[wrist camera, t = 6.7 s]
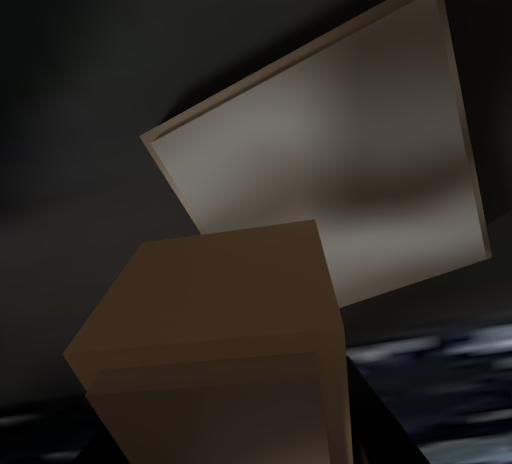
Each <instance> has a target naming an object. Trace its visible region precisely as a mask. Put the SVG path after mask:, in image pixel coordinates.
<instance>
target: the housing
mask: <svg viewBox="0 0 512 464" xmlns="http://www.w3.org/2000/svg"><path fill="white" fill-rule="evenodd" d="M62 355H63V356H64V358H65V359H66V361H67V362H68V364H69V365H70V367H71V368H72V370H73V371H74V373H75V374H76V376H77V377H78V379H79V380H80V382H81V383H82V385H83V386H84V388H85V389H86V391H87V393H86V394H85V397H86V398H87V400H88V401H89V403H90V404H91V406H92V407H93V409H94V410H95V412H96V413H97V415H98V416H99V417H100V419H101V420H102V422H103V423H104V425H105V426H106V428H107V429H108V431H109V432H110V434H111V435H112V437H113V438H114V440H115V441H116V443H117V444H118V446H119V447H120V449H121V450H122V452H123V453H124V455H125V456H126V458H127V459H128V461H129V462H130V464H353V455H352V439H351V424H350V409H349V393H348V378H347V363H346V347H345V332H344V325H343V321H342V318H341V314H340V310H339V306H338V303H337V299H336V295H335V292H334V288H333V284H332V280H331V277H330V273H329V269H328V266H327V262H326V258H325V255H324V251H323V247H322V243H321V240H320V236H319V232H318V229H317V225H316V221H315V219H313V220H306V221H298V222H291V223H284V224H276V225H269V226H262V227H255V228H247V229H240V230H233V231H225V232H218V233H211V234H204V235H196V236H189V237H182V238H174V239H167V240H160V241H153V242H145V243H142V245H141V246H140V247H139V249H138V250H137V252H136V253H135V254H134V256H133V257H132V258H131V260H130V261H129V263H128V264H127V265H126V267H125V268H124V270H123V271H122V272H121V274H120V275H119V276H118V278H117V279H116V281H115V282H114V283H113V285H112V286H111V287H110V289H109V290H108V292H107V293H106V294H105V296H104V297H103V299H102V300H101V301H100V303H99V304H98V305H97V307H96V308H95V310H94V311H93V312H92V314H91V315H90V316H89V318H88V319H87V321H86V322H85V323H84V325H83V326H82V328H81V329H80V330H79V332H78V333H77V334H76V336H75V337H74V339H73V340H72V341H71V343H70V344H69V345H68V347H67V348H66V350H65V351H64V352H63V354H62Z"/></svg>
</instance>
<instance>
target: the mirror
mask: <svg viewBox="0 0 512 464" xmlns="http://www.w3.org/2000/svg"><path fill="white" fill-rule="evenodd" d="M139 137H140V138H141V140H142V141H143V143H144V144H145V146H146V148H147V149H148V151H149V152H150V154H151V155H152V157H153V159H154V160H155V162H156V163H157V165H158V166H159V168H160V170H161V171H162V173H163V174H164V176H165V178H166V179H167V181H168V182H169V184H170V185H171V187H172V189H173V190H174V192H175V193H176V195H177V196H178V198H179V200H180V201H181V203H182V204H183V206H184V207H185V209H186V211H187V212H188V214H189V215H190V217H191V218H192V220H193V222H194V223H195V225H196V226H197V228H198V230H199V231H200V233H201V234H202V235H204V234H211V233H218V232H225V231H233V230H240V229H247V228H255V227H262V226H269V225H276V224H284V223H291V222H298V221H306V220H313V219H315V221H316V225H317V229H318V232H319V236H320V240H321V243H322V247H323V251H324V255H325V258H326V262H327V266H328V269H329V273H330V277H331V280H332V284H333V288H334V292H335V295H336V299H337V303H338V306H339V308H341V307H344V306H347V305H350V304H353V303H356V302H359V301H362V300H365V299H368V298H371V297H374V296H377V295H380V294H383V293H386V292H389V291H392V290H395V289H398V288H401V287H404V286H407V285H410V284H413V283H416V282H419V281H422V280H425V279H428V278H431V277H434V276H437V275H440V274H444V273H447V272H450V271H453V270H456V269H459V268H462V267H465V266H468V265H471V264H474V263H477V262H480V261H483V260H486V259H489V258H492V255H491V249H490V244H489V238H488V233H487V228H486V222H485V217H484V212H483V206H482V201H481V195H480V190H479V185H478V179H477V174H476V169H475V163H474V158H473V152H472V147H471V142H470V136H469V131H468V126H467V120H466V115H465V109H464V104H463V99H462V93H461V88H460V83H459V77H458V72H457V66H456V61H455V56H454V50H453V45H452V40H451V34H450V29H449V23H448V18H447V13H446V7H445V2H444V0H386V1H384V2H382V3H380V4H378V5H376V6H375V7H373V8H371V9H369V10H367V11H366V12H364V13H362V14H360V15H358V16H357V17H355V18H353V19H351V20H349V21H347V22H346V23H344V24H342V25H340V26H338V27H337V28H335V29H333V30H331V31H329V32H328V33H326V34H324V35H322V36H320V37H318V38H317V39H315V40H313V41H311V42H309V43H308V44H306V45H304V46H302V47H300V48H299V49H297V50H295V51H293V52H291V53H289V54H288V55H286V56H284V57H282V58H280V59H279V60H277V61H275V62H273V63H271V64H270V65H268V66H266V67H264V68H262V69H260V70H259V71H257V72H255V73H253V74H251V75H250V76H248V77H246V78H244V79H242V80H241V81H239V82H237V83H235V84H233V85H231V86H230V87H228V88H226V89H224V90H222V91H221V92H219V93H217V94H215V95H213V96H211V97H210V98H208V99H206V100H204V101H202V102H201V103H199V104H197V105H195V106H193V107H192V108H190V109H188V110H186V111H184V112H182V113H181V114H179V115H177V116H175V117H173V118H172V119H170V120H168V121H166V122H164V123H163V124H161V125H159V126H157V127H155V128H153V129H152V130H150V131H148V132H146V133H144V134H143V135H141V136H139Z"/></svg>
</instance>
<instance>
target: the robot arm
mask: <svg viewBox="0 0 512 464" xmlns="http://www.w3.org/2000/svg"><path fill="white" fill-rule="evenodd" d="M346 363H347V378H348V393H349V409H350V424H351V439H352V455H353V464H430V463H429V461H428V460H427V459H426V457H425V456H424V455H423V453H422V452H421V451H420V450H419V448H418V447H417V446H416V444H415V443H414V442H413V440H412V439H411V438H410V436H409V435H408V434H407V432H406V431H405V430H404V428H403V427H402V426H401V424H400V423H399V422H398V421H397V419H396V418H395V417H394V415H393V414H392V413H391V411H390V410H389V409H388V407H387V406H386V405H385V403H384V402H383V401H382V399H381V398H380V397H379V396H378V394H377V393H376V392H375V390H374V389H373V388H372V386H371V385H370V384H369V382H368V381H367V380H366V378H365V377H364V376H363V374H362V373H361V372H360V371H359V369H358V368H357V367H356V365H355V364H354V363H353V361H352V360H351V359H350V358H349V357H348V356H346ZM70 464H130V462H129V461H128V459H127V458H126V456H125V455H124V453H123V452H122V450H121V449H120V447H119V446H118V444H117V443H116V441H115V440H114V438H113V437H112V435H111V434H110V432H109V431H108V429H107V428H106V426H105V425H104V426H103V427H102V429H101V430H100V431H99V432H98V433H97V434H96V435H95V436H94V438H93V439H92V440H91V441H90V442H89V443H88V444H87V445H86V447H85V448H84V449H83V450H82V451H81V452H80V453H79V454H78V456H77V457H76V458H75V459H74V460H73V461H72V462H71V463H70Z"/></svg>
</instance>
